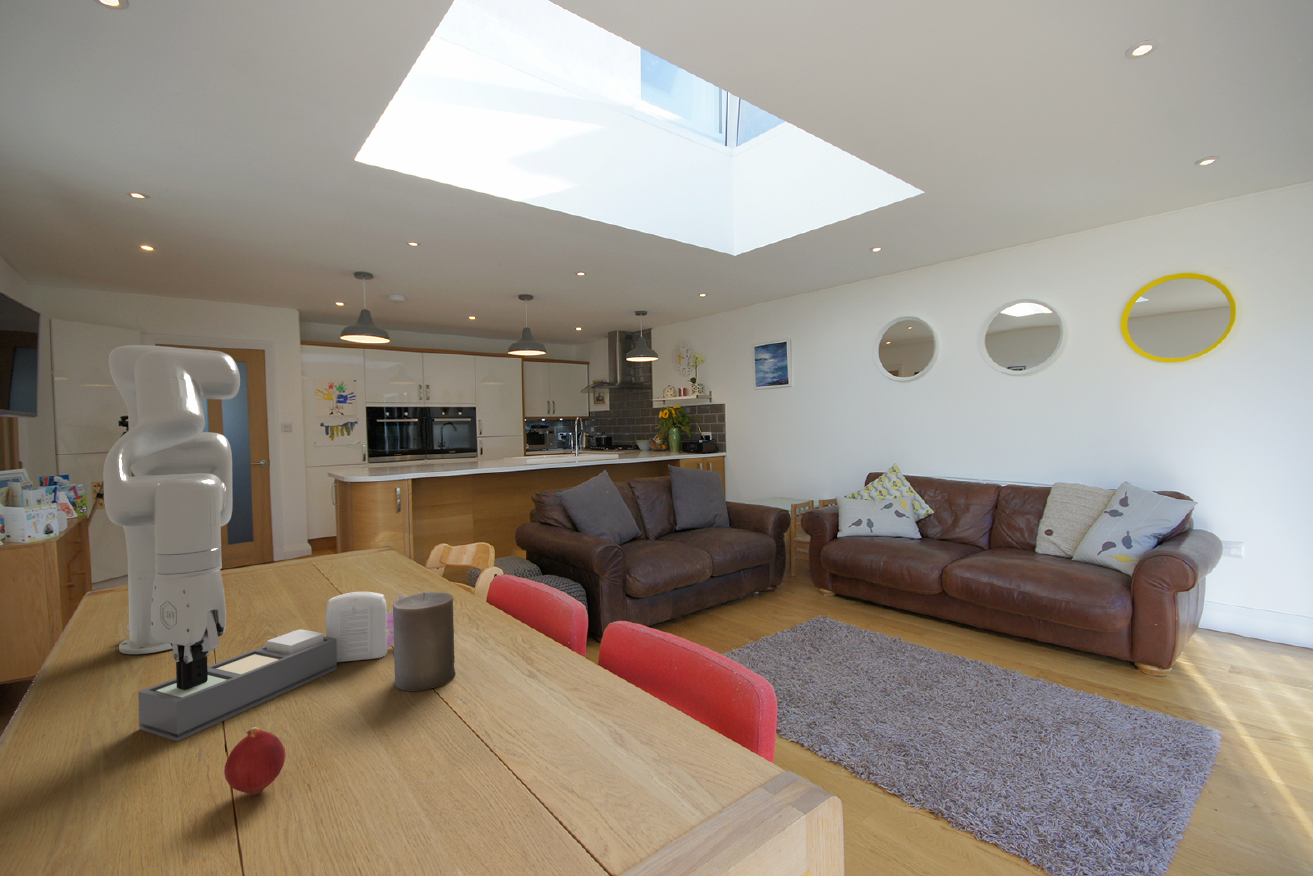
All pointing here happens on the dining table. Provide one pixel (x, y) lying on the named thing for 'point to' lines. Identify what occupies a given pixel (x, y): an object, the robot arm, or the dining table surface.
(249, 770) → the onion
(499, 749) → the dining table surface
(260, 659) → the key sand
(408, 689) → the pillar candle
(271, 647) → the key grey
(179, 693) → the key sage
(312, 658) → the grey compartment tray
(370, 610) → the photo printer
